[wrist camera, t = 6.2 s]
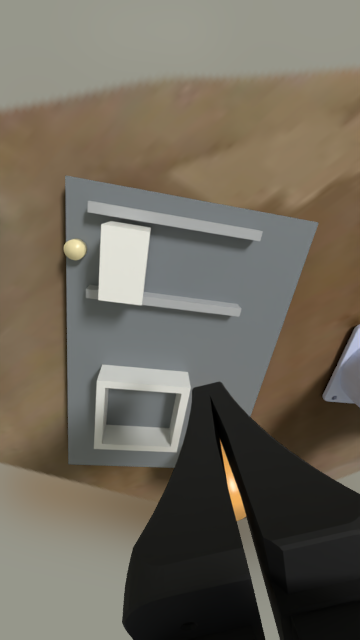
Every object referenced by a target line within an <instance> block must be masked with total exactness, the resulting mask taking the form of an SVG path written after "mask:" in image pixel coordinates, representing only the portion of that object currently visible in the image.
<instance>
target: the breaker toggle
mask: <svg viewBox="0 0 360 640" xmlns="http://www.w3.org/2000/svg"><path fill="white" fill-rule="evenodd" d="M150 232H151V227H146V226H139V225H133V224H127V223H121V222H115V221H110V222H106V223H103V224H101V243H100V267H99V292H98V300H101V301H109V302H117V303H125V304H134V305H142V300H143V293H144V286H145V277H146V268H147V259H148V250H149V241H150Z"/></svg>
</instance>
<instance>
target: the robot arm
mask: <svg viewBox="0 0 360 640" xmlns="http://www.w3.org/2000/svg"><path fill="white" fill-rule="evenodd" d="M322 397H323V399H324V400H325V401H328V402H341V403H354V404H356V405H357V406H358V407H359V408H360V325H358V326H356V327H355V328H354V330H353V332H352V335H351V337H350V339H349V341H348V343H347V345H346V347H345V349H344V351H343V353H342V356H341V358H340V360H339V362H338V364H337V366H336V368H335V370H334V372H333V374H332V376H331V379H330V381H329V383H328V385H327V387H326V389H325V391H324V393H323V396H322ZM220 440H221V443H222V446H223V449H224V451H225V454H226V457H227V460H228V462H229V465H230V468H231V471H232V473H233V476H234V479H235V481H236V484H237V487H238V490H239V493H240V496H241V499H242V503H243V506H244V510H245V513H246V517H247V520H248V524H249V528H250V531H251V535H252V539H253V542H254V546H255V549H256V553H257V556H258V560H259V564H260V567H261V571H262V575H263V578H264V582H265V586H266V589H267V593H268V597H269V600H270V604H271V608H272V611H273V615H274V619H275V622H276V626H277V630H278V634H279V637H280V640H360V494H359V493H357V492H355V491H353V490H351V489H349V488H347V487H345V486H344V485H342V484H341V483H339V482H337V481H335V480H334V479H332V478H330V477H329V476H327V475H325V474H324V473H322V472H320V471H319V470H317V469H316V468H314V467H313V466H311V465H310V464H308V463H307V462H305V461H304V460H302V459H301V458H299V457H298V456H297V455H295V454H294V453H292V452H291V451H289V450H288V449H287V448H285V447H284V446H283V445H282V444H280V443H279V442H278V441H276V440H275V439H274V438H273V437H272V436H270V435H269V434H268V433H267V432H266V431H265V430H263V429H262V428H261V427H260V426H259V425H258V424H257V423H256V422H255V421H254V420H253V419H252V418H251V417H250V416H249V415H248V414H247V413H246V412H245V411H244V410H243V409H242V408H241V407H240V406H239V405H238V403H237V402H236V401H235V400H234V399H233V397H232V396H231V395H230V394H229V392H228V391H227V390H226V388H225V387H224V385H223V383H222V382H220V381H219V382H215V383H211V384H207V385H203V386H198V387H194V388H193V389H192V403H191V410H190V416H189V421H188V426H187V430H186V434H185V437H184V441H183V445H182V448H181V451H180V454H179V457H178V460H177V462H176V465H175V468H174V470H173V472H172V475H171V477H170V480H169V482H168V484H167V487H166V489H165V491H164V493H163V495H162V497H161V499H160V501H159V503H158V505H157V507H156V509H155V511H154V513H153V515H152V517H151V518H150V520H149V522H148V523H147V525H146V527H145V529H144V530H143V532H142V534H141V535H140V537H139V539H138V541H137V542H136V544H135V545H134V547H133V551H132V554H131V559H130V563H129V568H128V573H127V578H126V585H125V593H124V605H123V619H122V623H123V625H124V627H125V629H126V631H127V632H128V633H129V635H130V636H131V637H132V638H133V640H265V636H264V632H263V628H262V623H261V619H260V615H259V610H258V606H257V602H256V598H255V593H254V589H253V585H252V581H251V576H250V573H249V568H248V564H247V560H246V557H245V553H244V549H243V545H242V541H241V537H240V533H239V529H238V525H237V521H236V517H235V513H234V509H233V505H232V502H231V498H230V494H229V490H228V484H227V478H226V472H225V467H224V461H223V455H222V449H221V443H220Z"/></svg>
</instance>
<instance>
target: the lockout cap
mask: <svg viewBox="0 0 360 640" xmlns="http://www.w3.org/2000/svg"><path fill="white" fill-rule="evenodd" d="M220 443H221V440H220ZM221 449H222V455H223V461H224V467H225V472H226V478H227V484H228V490H229V494H230V498H231V502H232V505H233V509H234V513H235V517H236V521H239V520H241V519H243V518H245V517H246V513H245V510H244V506H243V503H242V499H241V496H240V493H239V490H238V487H237V484H236V481H235V479H234V476H233V473H232V471H231V468H230V465H229V462H228V460H227V457H226V454H225V451H224V449H223V446H222V443H221Z"/></svg>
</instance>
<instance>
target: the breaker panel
mask: <svg viewBox="0 0 360 640" xmlns="http://www.w3.org/2000/svg"><path fill="white" fill-rule="evenodd" d="M65 189H66V243H65V245H64V253H65V255H66V283H67V378H68V464H74V465H105V466H136V467H167V468H175V465H176V462H177V460H178V457H179V454H180V451H181V448H182V445H183V441H184V437H185V434H186V430H187V426H188V421H189V416H190V410H191V403H192V389H193V388H194V387H198V386H203V385H207V384H211V383H215V382H219V381H220V382H222V383H223V385H224V387H225V388H226V390H227V391H228V392H229V394H230V395H231V396H232V397H233V399H234V400H235V401H236V402H237V403H238V405H239V406H240V407H241V408H242V409H243V410H244V411H245V412H246V413H247V414H248V415H249V416H251V413H252V410H253V407H254V405H255V402H256V399H257V396H258V393H259V390H260V387H261V385H262V382H263V379H264V376H265V373H266V370H267V368H268V365H269V362H270V359H271V356H272V353H273V351H274V348H275V345H276V342H277V339H278V336H279V334H280V331H281V328H282V325H283V322H284V319H285V317H286V314H287V311H288V308H289V305H290V302H291V300H292V297H293V294H294V291H295V288H296V285H297V283H298V280H299V277H300V274H301V271H302V268H303V265H304V263H305V260H306V257H307V254H308V251H309V248H310V246H311V243H312V240H313V237H314V234H315V231H316V229H317V226H318V222H313V221H307V220H302V219H296V218H291V217H286V216H280V215H275V214H270V213H264V212H259V211H253V210H248V209H243V208H237V207H232V206H227V205H221V204H216V203H210V202H205V201H200V200H194V199H189V198H184V197H178V196H173V195H168V194H162V193H157V192H151V191H146V190H141V189H135V188H130V187H125V186H119V185H114V184H108V183H103V182H98V181H92V180H87V179H82V178H76V177H71V176H65ZM110 221H115V222H121V223H127V224H133V225H139V226H146V227H151V232H150V241H149V250H148V259H147V268H146V277H145V286H144V293H143V300H142V305H134V304H125V303H117V302H109V301H101V300H98V292H99V267H100V243H101V224H103V223H106V222H110Z"/></svg>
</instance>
